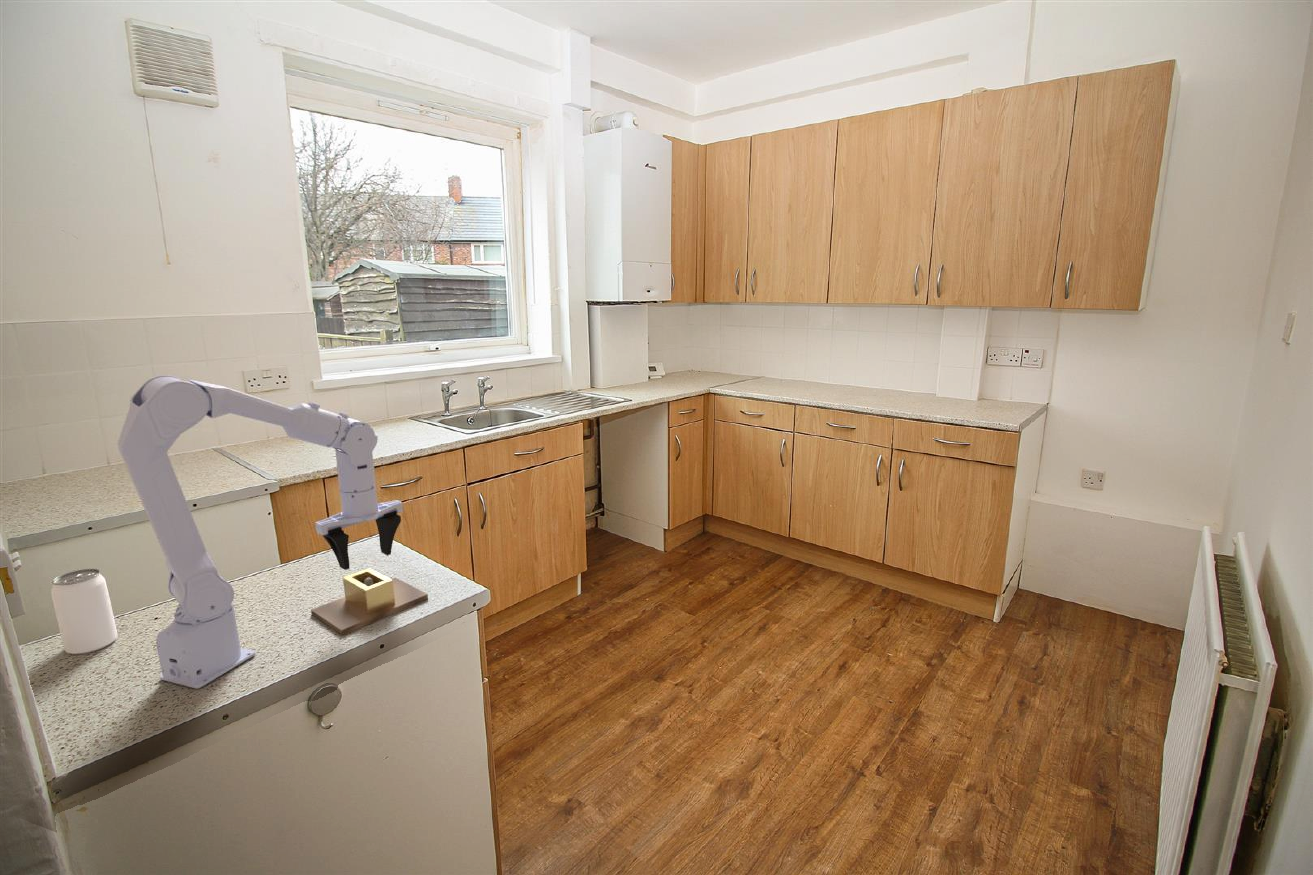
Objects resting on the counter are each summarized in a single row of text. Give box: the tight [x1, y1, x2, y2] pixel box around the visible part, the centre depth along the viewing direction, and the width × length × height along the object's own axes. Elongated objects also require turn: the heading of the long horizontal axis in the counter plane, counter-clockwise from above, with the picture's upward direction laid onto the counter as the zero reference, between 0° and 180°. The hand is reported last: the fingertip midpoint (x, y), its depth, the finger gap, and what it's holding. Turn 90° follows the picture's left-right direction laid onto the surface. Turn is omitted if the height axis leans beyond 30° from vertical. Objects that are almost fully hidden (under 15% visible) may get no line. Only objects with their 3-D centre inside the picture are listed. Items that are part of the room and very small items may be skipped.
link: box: [342, 567, 395, 614], centre depth 113 cm, size 8×5×4 cm, turn 52°
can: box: [50, 568, 118, 656], centre depth 100 cm, size 6×6×12 cm
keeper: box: [310, 577, 429, 636], centre depth 113 cm, size 16×11×6 cm
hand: (365, 560), depth 112 cm, fingers open, 7 cm apart
